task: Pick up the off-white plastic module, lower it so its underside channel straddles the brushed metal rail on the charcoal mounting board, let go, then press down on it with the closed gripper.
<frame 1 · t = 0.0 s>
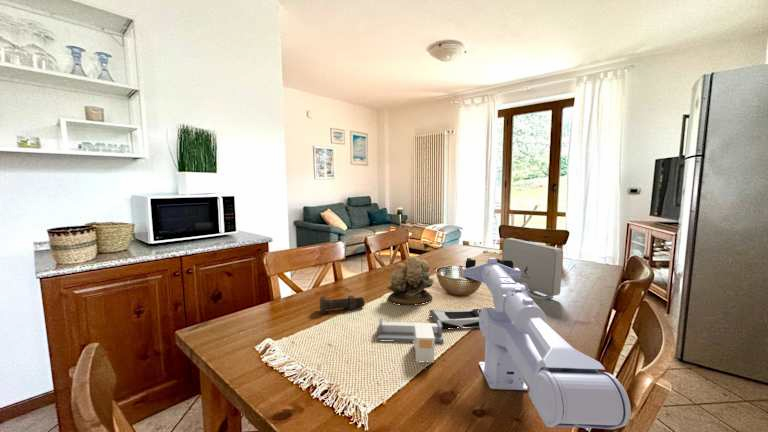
hand: (481, 261, 88), 22 cm above the table, tool horizontal, fingers open, 7 cm apart
tan lumpy piece: (411, 300, 117), on the table
network device: (528, 291, 128), on the table
rail board: (409, 334, 90), on the table
module: (423, 353, 80), on the table
graphics card: (471, 324, 99), on the table
bolt: (342, 310, 107), on the table
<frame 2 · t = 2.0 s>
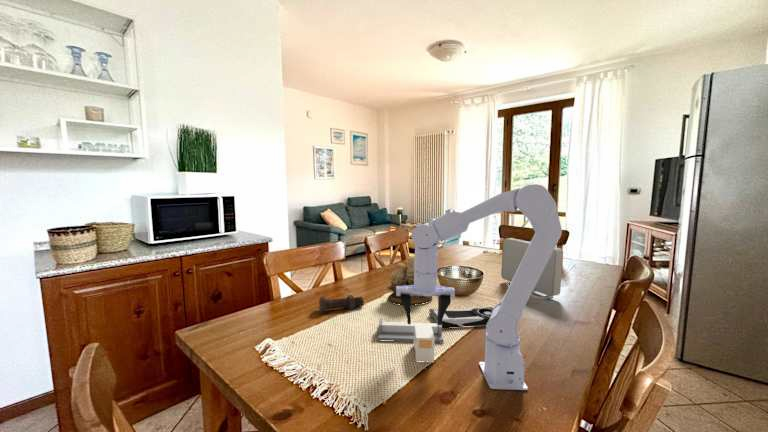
hand: (424, 322, 79), 8 cm above the table, tool pointing down, fingers open, 7 cm apart
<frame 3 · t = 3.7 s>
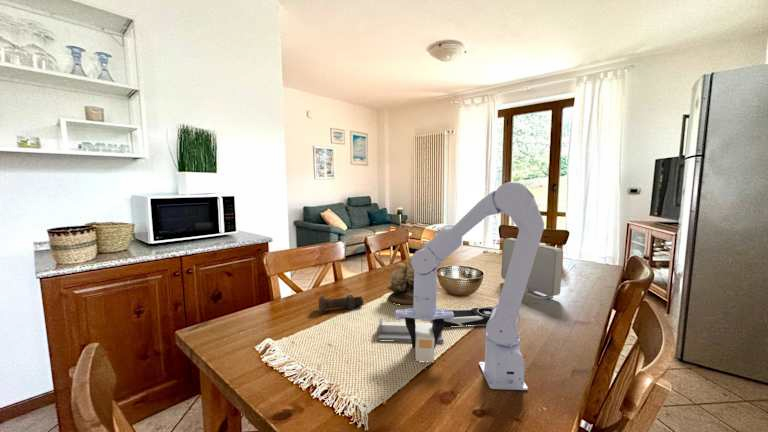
hand: (423, 346, 80), 2 cm above the table, tool pointing down, fingers closed on module, 4 cm apart
module: (423, 353, 80), on the table, touching gripper
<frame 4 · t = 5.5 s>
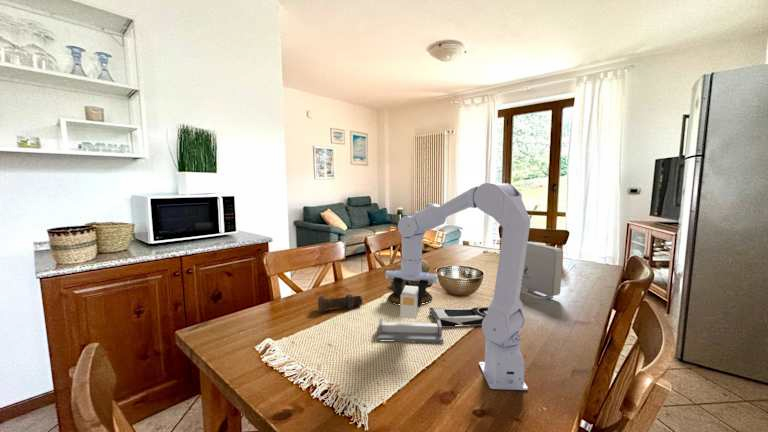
hand: (410, 304, 89), 9 cm above the table, tool pointing down, fingers closed on module, 4 cm apart
module: (410, 311, 89), point 7 cm above the table, touching gripper
when the fingers open (4 cm above the table, at t = 7.8 s): module stays where it is, resting on rail board.
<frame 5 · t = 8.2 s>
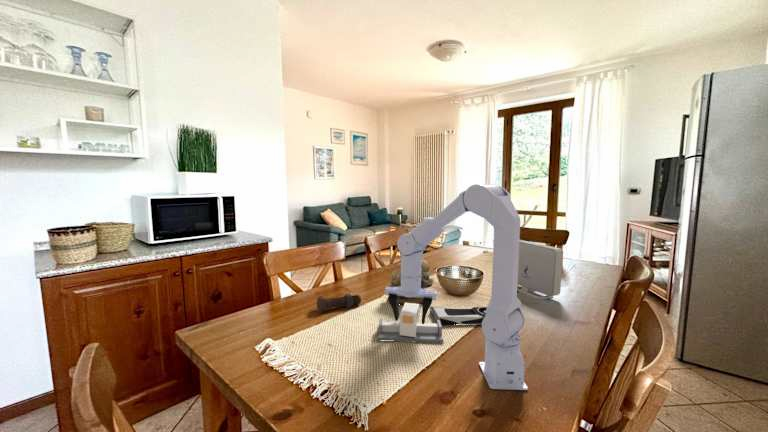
hand: (409, 320, 90), 4 cm above the table, tool pointing down, fingers open, 7 cm apart
module: (409, 329, 90), point 1 cm above the table, touching rail board
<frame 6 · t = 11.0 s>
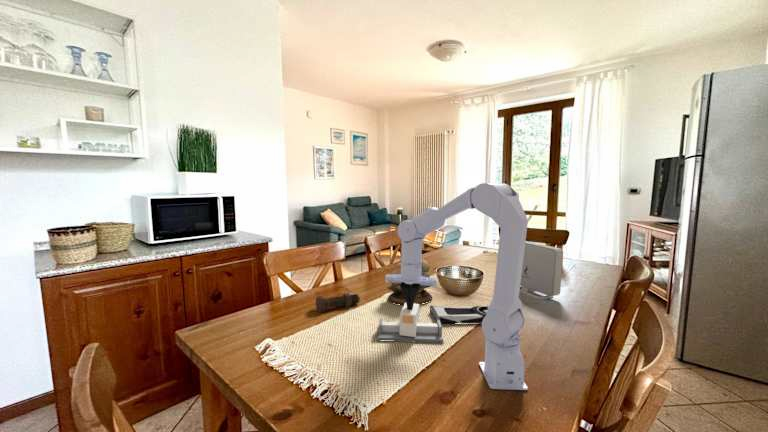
hand: (410, 308, 89), 8 cm above the table, tool pointing down, fingers closed, pressing on module
module: (409, 329, 90), point 1 cm above the table, touching gripper, rail board
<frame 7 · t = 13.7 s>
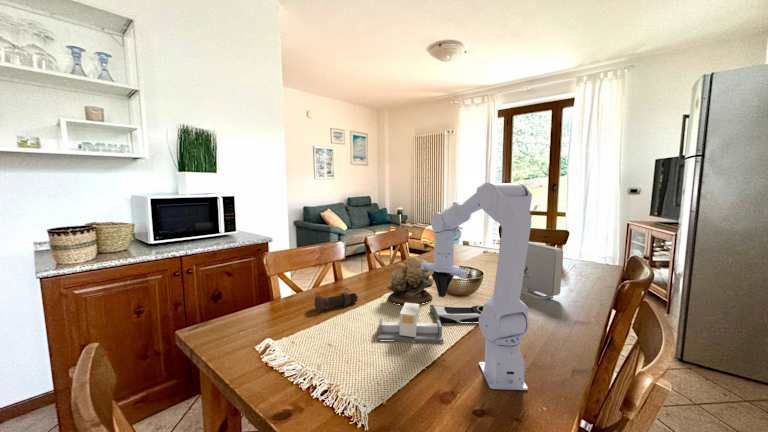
hand: (442, 296, 95), 9 cm above the table, tool pointing down, fingers closed
module: (409, 329, 90), point 1 cm above the table, touching rail board
at the end: module 0.1 cm off-centre on the rail board, point 1.5 cm above the rail board's base; module tilted 0°; the gripper is holding nothing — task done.
